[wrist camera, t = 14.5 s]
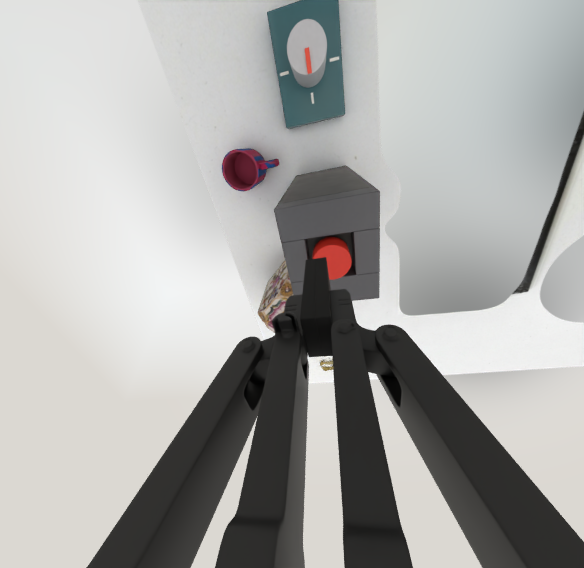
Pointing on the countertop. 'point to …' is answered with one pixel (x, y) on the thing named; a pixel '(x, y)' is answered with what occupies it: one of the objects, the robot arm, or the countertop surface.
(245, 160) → the cup
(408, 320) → the countertop surface
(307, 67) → the dial
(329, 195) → the button box
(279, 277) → the decorative jar
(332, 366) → the tongs
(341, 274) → the power button
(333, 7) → the dial panel
